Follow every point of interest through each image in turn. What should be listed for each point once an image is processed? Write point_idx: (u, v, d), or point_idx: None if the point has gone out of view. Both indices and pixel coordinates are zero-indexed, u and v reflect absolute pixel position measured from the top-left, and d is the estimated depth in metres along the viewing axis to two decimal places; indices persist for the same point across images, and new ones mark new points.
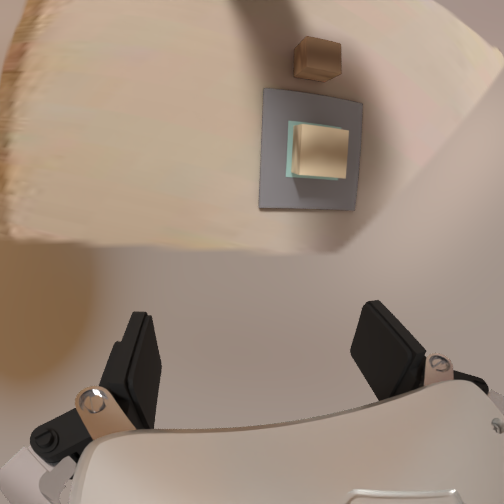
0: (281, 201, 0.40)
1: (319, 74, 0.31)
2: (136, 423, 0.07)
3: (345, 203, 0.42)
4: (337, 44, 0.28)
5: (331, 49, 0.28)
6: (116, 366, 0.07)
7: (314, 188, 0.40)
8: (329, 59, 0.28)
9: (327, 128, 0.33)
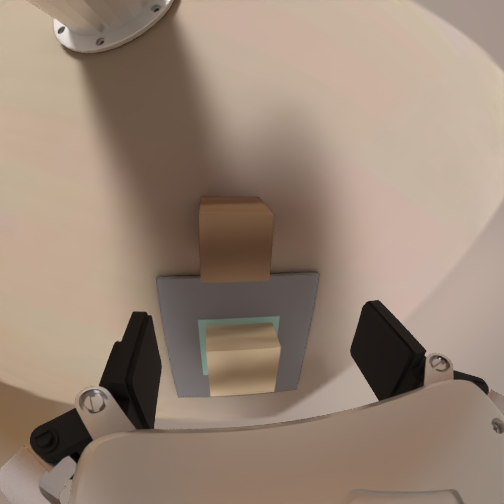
0: (202, 392, 0.32)
1: None
2: (136, 423, 0.07)
3: (283, 386, 0.33)
4: (266, 218, 0.18)
5: (252, 234, 0.19)
6: (116, 366, 0.07)
7: None
8: (245, 257, 0.19)
9: (246, 351, 0.24)
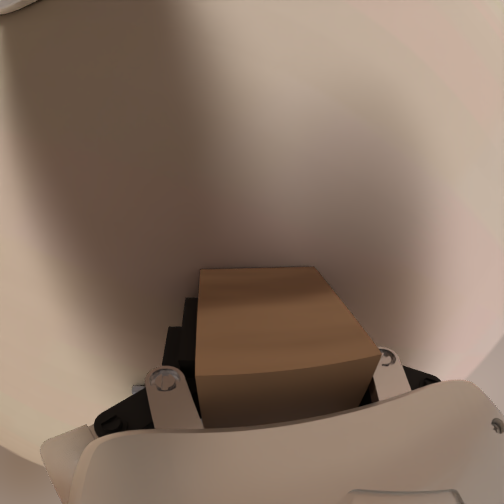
0: None
1: None
2: None
3: None
4: (364, 365, 0.07)
5: (326, 395, 0.07)
6: (183, 345, 0.08)
7: None
8: None
9: None
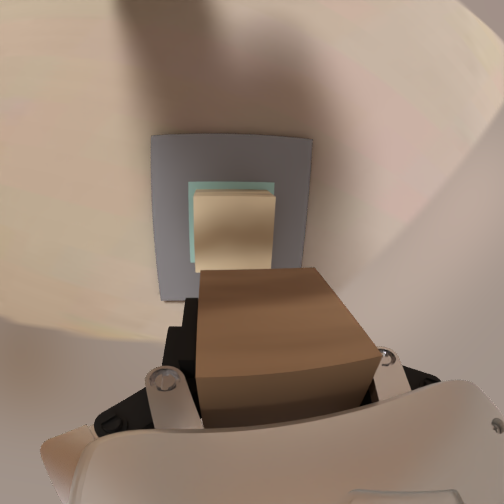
0: (189, 292, 0.30)
1: None
2: None
3: None
4: (364, 366, 0.07)
5: (327, 397, 0.07)
6: (183, 345, 0.08)
7: None
8: None
9: (237, 198, 0.23)
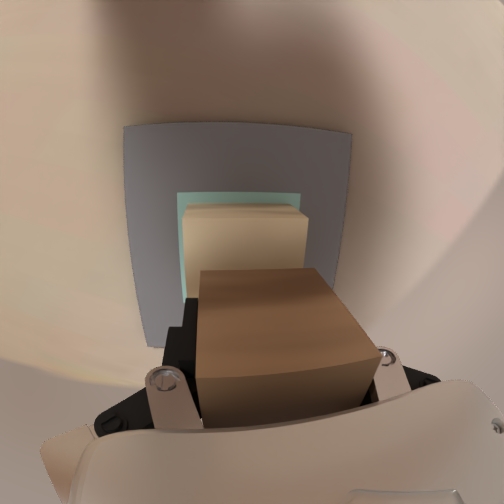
0: None
1: None
2: None
3: None
4: (364, 366, 0.07)
5: (327, 397, 0.07)
6: (183, 345, 0.08)
7: None
8: None
9: (250, 221, 0.15)
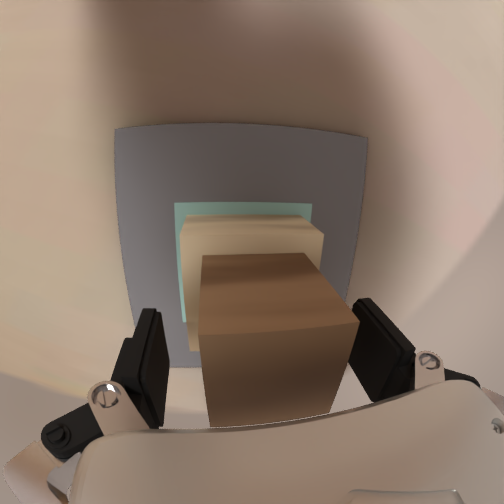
0: (183, 358, 0.20)
1: None
2: (148, 417, 0.07)
3: None
4: (343, 330, 0.08)
5: (312, 359, 0.08)
6: (129, 361, 0.07)
7: None
8: (294, 393, 0.09)
9: (258, 238, 0.13)
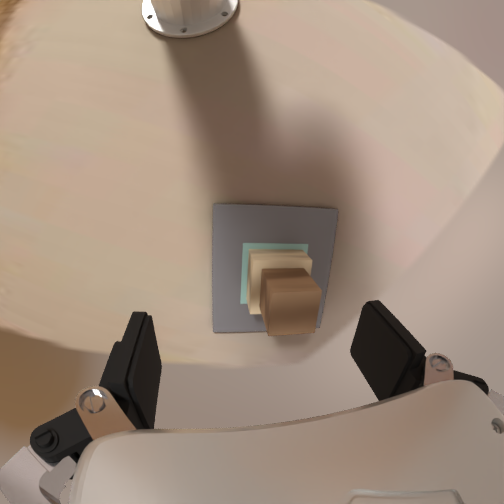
0: (236, 326, 0.38)
1: None
2: (136, 423, 0.07)
3: None
4: (316, 293, 0.26)
5: (306, 303, 0.26)
6: (116, 366, 0.07)
7: None
8: (300, 319, 0.27)
9: (285, 261, 0.31)
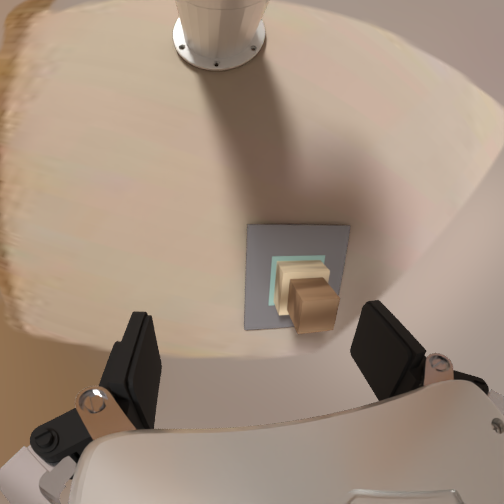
0: (264, 323, 0.45)
1: None
2: (136, 423, 0.07)
3: None
4: (335, 300, 0.33)
5: (328, 308, 0.33)
6: (116, 366, 0.07)
7: None
8: (323, 320, 0.34)
9: (308, 273, 0.38)
